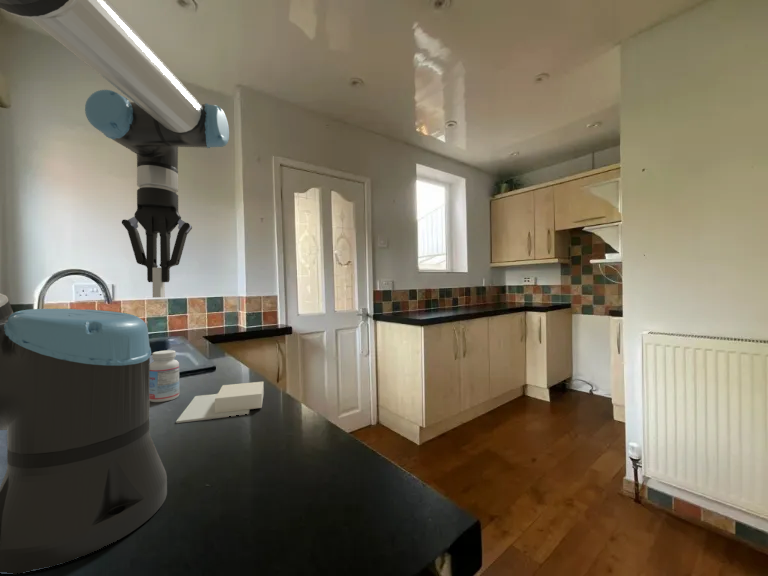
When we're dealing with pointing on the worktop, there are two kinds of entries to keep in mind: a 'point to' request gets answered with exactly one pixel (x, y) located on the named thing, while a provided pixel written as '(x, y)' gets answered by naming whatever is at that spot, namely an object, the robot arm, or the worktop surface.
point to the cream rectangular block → (239, 397)
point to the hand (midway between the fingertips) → (158, 297)
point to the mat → (205, 410)
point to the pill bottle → (164, 376)
